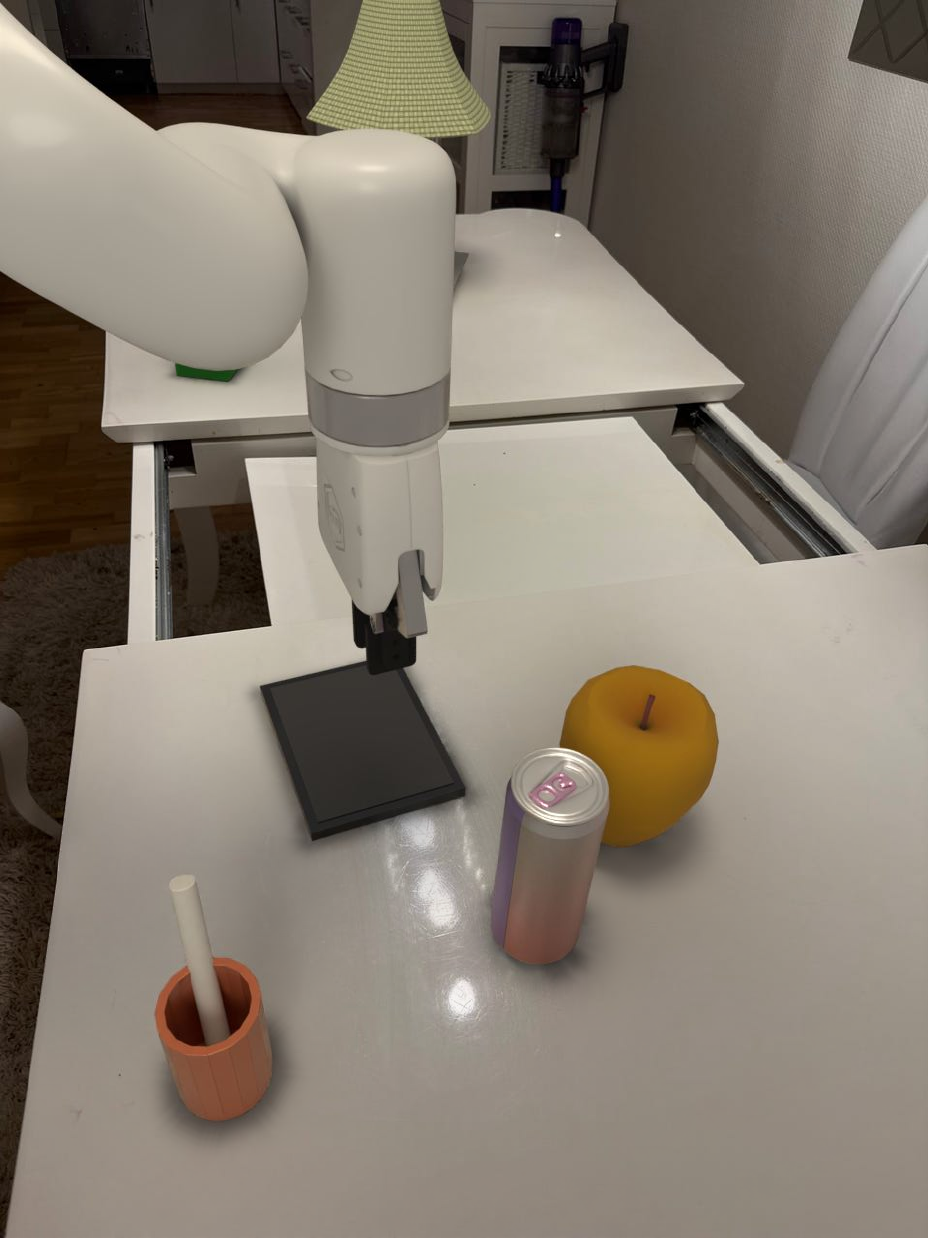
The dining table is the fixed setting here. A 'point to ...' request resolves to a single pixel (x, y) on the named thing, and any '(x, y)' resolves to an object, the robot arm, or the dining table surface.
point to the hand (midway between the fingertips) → (384, 652)
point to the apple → (644, 747)
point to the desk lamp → (403, 79)
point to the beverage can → (547, 853)
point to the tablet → (358, 747)
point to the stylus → (199, 958)
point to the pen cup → (227, 1069)
